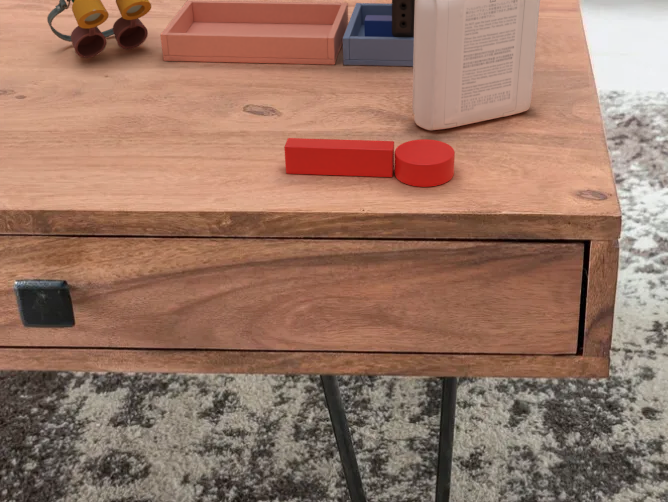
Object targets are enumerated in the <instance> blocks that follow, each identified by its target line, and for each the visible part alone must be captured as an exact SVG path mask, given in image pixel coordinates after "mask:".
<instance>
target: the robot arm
mask: <svg viewBox="0 0 668 502" xmlns="http://www.w3.org/2000/svg"><path fill="white" fill-rule="evenodd" d="M391 4H392V35H393V36H394V37H414V14H415V0H391Z"/></svg>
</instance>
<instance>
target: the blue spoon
mask: <svg viewBox="0 0 668 502" xmlns="http://www.w3.org/2000/svg"><path fill="white" fill-rule="evenodd" d="M364 29H365V37H394V36H393V35H392V16H389V15H366V17H365V20H364Z"/></svg>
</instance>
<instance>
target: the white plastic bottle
mask: <svg viewBox="0 0 668 502" xmlns="http://www.w3.org/2000/svg"><path fill="white" fill-rule="evenodd" d="M540 5H541V0H415V14H414V53H413V66H412V114H413V115H414V116H413V120H414V123H415V124H416V125H417V126H418V127H419V128H422V129H424V130H426V131H436V130H438V131H439V130H445V129H452V128H456V127H460V126H466V125H470V124H474V123H481V122H484V121H489V120H493V119H494V120H495V119H499V118H503V117H508V116H509V117H510V116H512V115H517V114H520V113H524V112H526V111H528V110H529V109H530V107H531V104H532V95H533V83H534V73H535V72H534V71H535V62H536V61H535V60H536V48H537V39H538V28H539V17H540Z"/></svg>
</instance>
